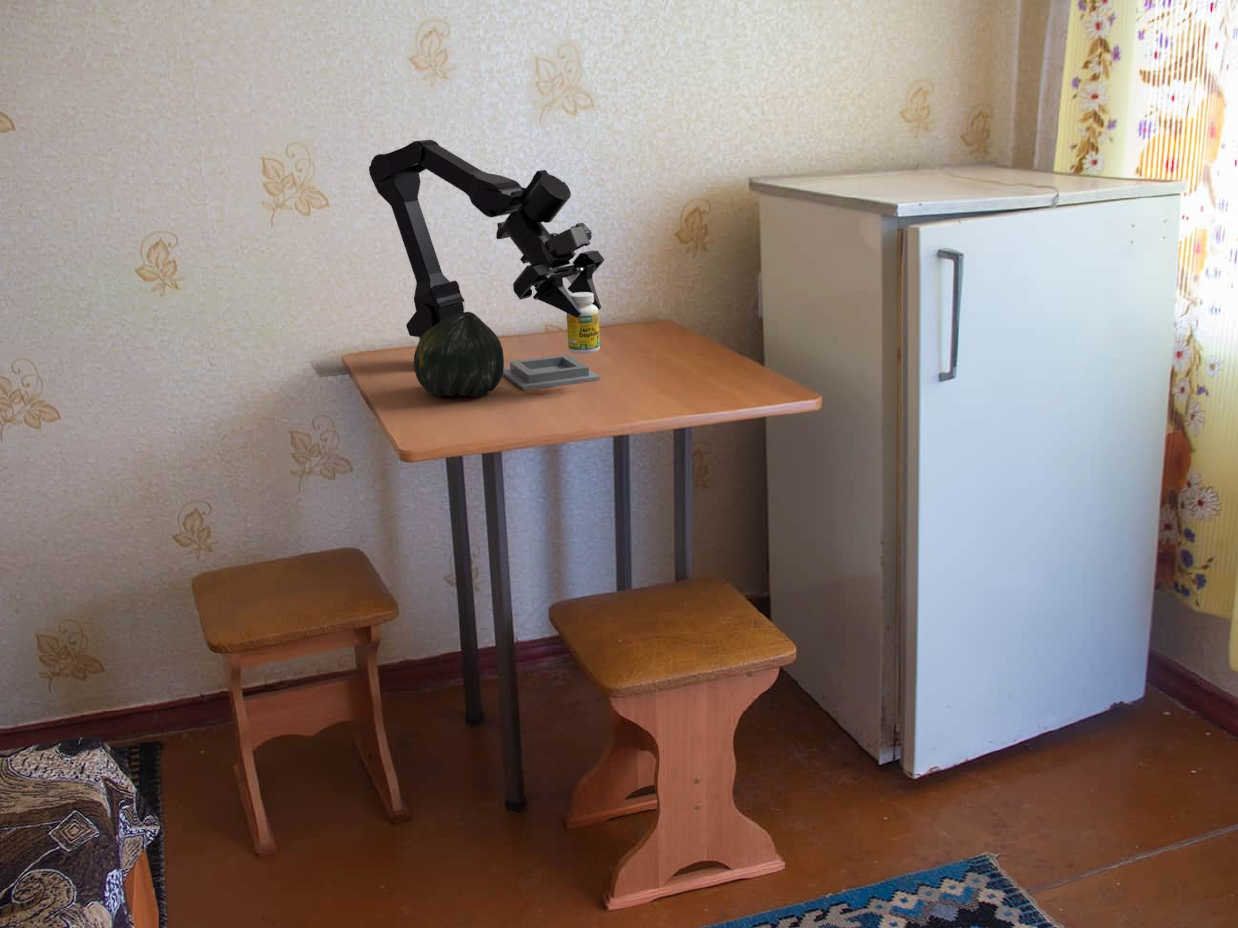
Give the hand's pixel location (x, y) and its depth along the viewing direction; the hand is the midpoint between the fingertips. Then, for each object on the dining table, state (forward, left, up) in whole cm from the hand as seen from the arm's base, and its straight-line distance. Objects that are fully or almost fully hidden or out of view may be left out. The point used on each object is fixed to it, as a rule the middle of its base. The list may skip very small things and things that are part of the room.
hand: (589, 312), depth 193 cm
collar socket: (-12, -4, -13) cm, 18 cm away
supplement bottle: (-1, -1, -7) cm, 7 cm away
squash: (-8, -20, -13) cm, 26 cm away
